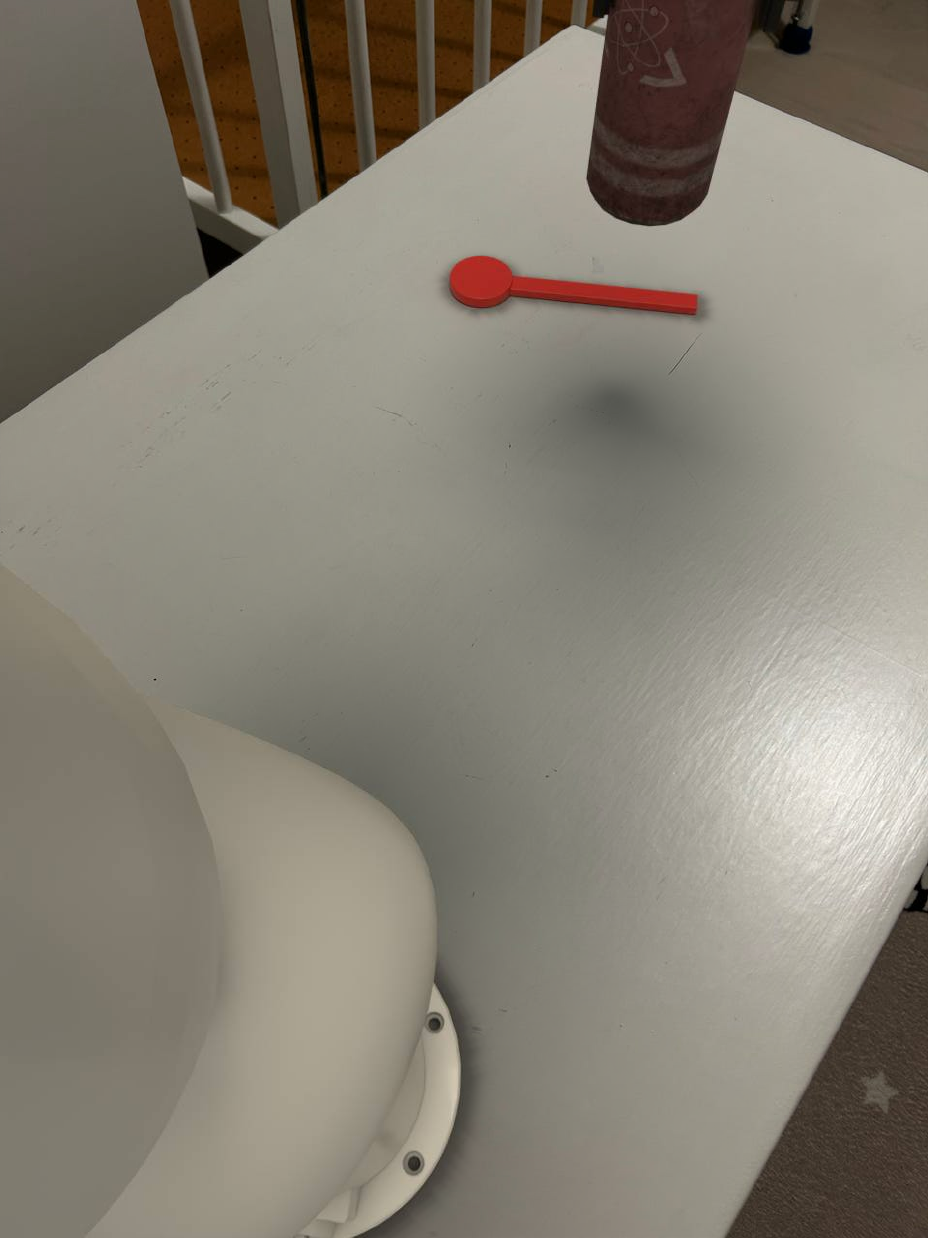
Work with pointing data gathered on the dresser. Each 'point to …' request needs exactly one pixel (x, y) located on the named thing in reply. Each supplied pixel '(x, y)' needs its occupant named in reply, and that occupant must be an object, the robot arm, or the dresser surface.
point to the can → (664, 104)
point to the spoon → (553, 289)
